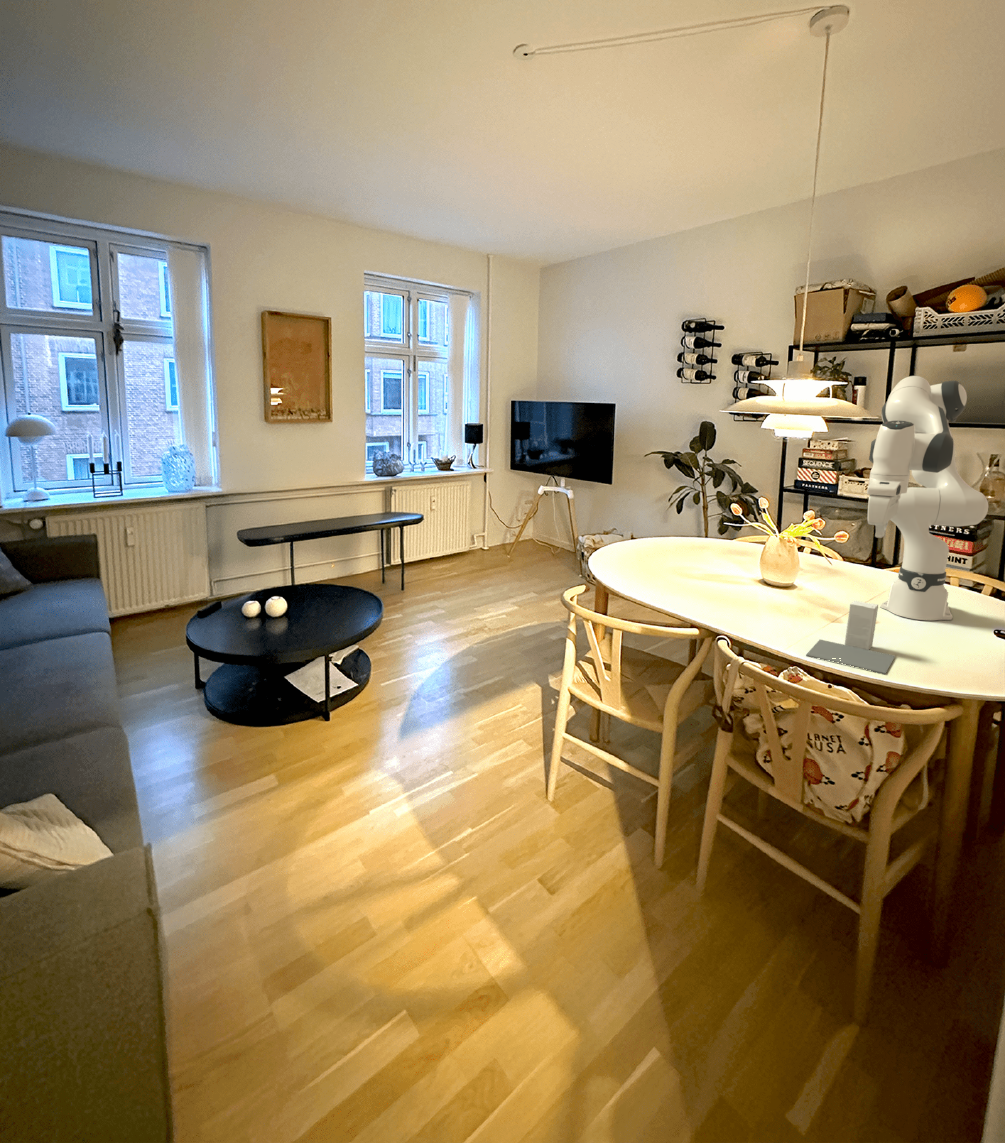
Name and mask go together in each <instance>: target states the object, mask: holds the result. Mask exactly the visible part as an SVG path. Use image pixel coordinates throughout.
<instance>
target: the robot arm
mask: <svg viewBox="0 0 1005 1143" xmlns="http://www.w3.org/2000/svg"><path fill="white" fill-rule="evenodd" d="M967 395H968V394H967V391H966V389H965V388H964V386H963V385H962V383H961V382H959V381H957V380H946V381H942V382H941V383H937V384H936V383H935V384H932V385H930V383H929V381H928V380H927V379H926V378H925V377H922V376H919V375H910V376H906V377H904V378H903V379H901V380H899V381H898V382H897V384H896V385H895V386H894V387H893V389H892V390H891V392H890V394H889V395H888V398H887V401H886V402H885V403H883V406H882V407H881V420H882V424H880V426H879V429H878V431H877V435H876V438H874V439H873V440H872V441H871V443H870V450H869V457H868V460H869V461H870V462H871V463H872V467H871V470H870V472H869V478H868V486H867V491H866V494H867V495H868V502H867V504H868V505H867V524H868V525H871V526H872V525H873V526H875V534H874V537H875V538H879V539H882V538H884V536H885V535H886V530H887V528H888V525H889V521H891V522H892V523H894V525H895V526H897V528H898V530H899V531H900V533H901V535H902V538H903V544H904V545H903V557H902V564H901V566H900V567H899V570H898V577H897V578H898V579H897V580H895V581H893V582H892V583H891V586H890V589H889V590H890V591H889V594H888V600H886V601H884V602H882V603H880V608H881V609H883V610H884V609H885V610H887V611H889V612H890V613H891V614H892V613H893V614H894V615H897V616H900V617H902V618H907V619H912V620H921V621H942V620H944V621H945V620H946V621H947V620H948V621H952V620H953V615H952V612H951V610H950V607H949V602H948V598H949V597H948V596H949V592H948V590H947V588H945V585H944V584H945V583H946V579H947V572H946V569H947V564H948V558H949V552H950V547H949V545H948V543H946V541H944V540H942V539H941V538H939V536H938V537H937V536H936V535H933V534H932V533H930V531H929V530H930V527H931V526H940V527H942V526H943V527H967V526H968V527H969V526H975V525H978V524H980V523H981V522H982V521H983V520H984V519H985V518H986V516H987V514H988V511H989V502H988V499H987V497H986V496H985V494H983V493H982V492H981V491H979V490H977V489H975V488H973V487H972V486H970V485H969V484H968V483H967V482H966V481H965V480H964V479H963V478H962V477H961V474H959V471H958V468H957V463H956V446H955V441H954V437H953V433H952V431H951V428H950V425H949V422H951V423H955V422H956V421H957V419H958V417H959V416H960V415H961V414H962V413H963V412H964V410H965V409H966V407H967V401H968V400H967V399H968V396H967ZM910 476H912V478H913V479H914V481H915V483H917V484H919V485H921V486H923V487H919V486H918V487H915V486H909V481H910Z"/></svg>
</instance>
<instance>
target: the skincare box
mask: <svg viewBox="0 0 1005 1143" xmlns="http://www.w3.org/2000/svg"><path fill="white" fill-rule="evenodd" d="M878 609H879V604H875V603H871V602H866V601H865V602H864V601H860V600H852V602H851V603H850V604H849V611H848V619H847V626H846V632H845V640H844V645H848V646H853V647H857V648H862V649H866V650H870V649H872V647H873V645H874V637H875V630H876V623H877V617H878Z"/></svg>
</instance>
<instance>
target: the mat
mask: <svg viewBox="0 0 1005 1143" xmlns="http://www.w3.org/2000/svg"><path fill="white" fill-rule="evenodd" d="M805 657H808V658H812V657H814V659H817V658H820V659H819V660H821V659H824V660H823V661H825V660H830V661H834V662H839V663H843V664H846V665H851V666H854V667H853V668H855V667H859V668H864V669H867V670H866V671H868V670H871V671H870V672H872V671H873V672H872V673H876V672H878V673H877V674H880V673H882V674H881V675H886V673H887V672H888V671H889V669H890V667H889V666H891V665H892V663H893V661H894V659H895V657H896V656H895V655H893V654H889V653H886V652H885V653H884V652H881V651H880V652H879V651H874V650H870V649H869V650H866V649H862V648H857V647H853V646H848V645H845V644H842V643H837V642H833V641H829V640H823V639H819V640H818V641H817V642H816V643H815V644H814V645H813V646H812V648H810V650H809V651H808V652H807V653H806V654H805ZM832 658H836V659H832ZM839 658H841V659H839ZM840 660H841V661H840ZM834 662H833V663H834ZM846 665H845V666H846ZM851 666H850V667H851ZM859 668H858V669H859Z"/></svg>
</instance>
